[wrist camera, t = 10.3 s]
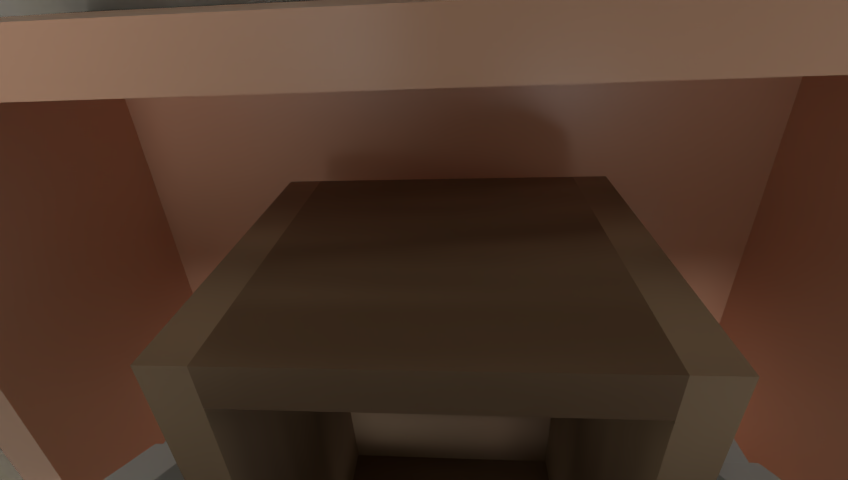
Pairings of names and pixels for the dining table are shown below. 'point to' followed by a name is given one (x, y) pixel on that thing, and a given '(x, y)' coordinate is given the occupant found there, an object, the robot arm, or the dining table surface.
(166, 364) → the small crate
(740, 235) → the big crate
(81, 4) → the dining table surface
